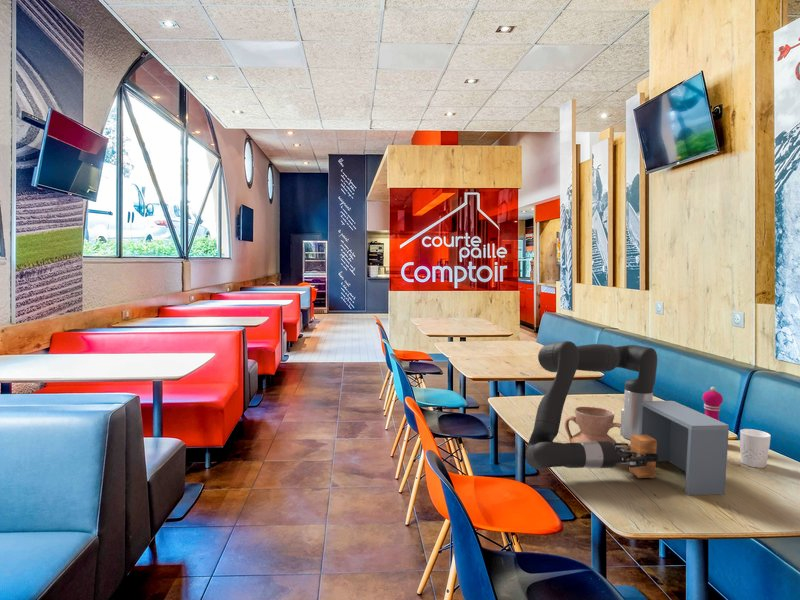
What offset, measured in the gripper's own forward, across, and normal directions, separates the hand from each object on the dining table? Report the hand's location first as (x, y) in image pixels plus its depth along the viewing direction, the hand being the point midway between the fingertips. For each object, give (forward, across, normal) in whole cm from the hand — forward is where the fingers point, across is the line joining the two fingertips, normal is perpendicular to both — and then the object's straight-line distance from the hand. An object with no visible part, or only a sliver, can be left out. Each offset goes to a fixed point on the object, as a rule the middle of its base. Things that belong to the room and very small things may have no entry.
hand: (651, 453), depth 150 cm
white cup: (+39, +7, +7) cm, 40 cm away
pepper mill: (+38, +26, +7) cm, 47 cm away
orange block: (-3, 0, +6) cm, 7 cm away
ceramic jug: (-9, +20, +7) cm, 23 cm away
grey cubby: (+8, 0, +7) cm, 11 cm away
